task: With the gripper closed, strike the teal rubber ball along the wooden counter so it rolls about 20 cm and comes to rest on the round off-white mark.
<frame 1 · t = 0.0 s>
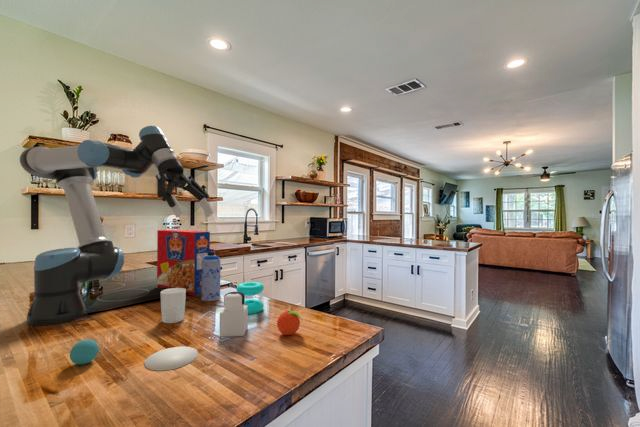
hand: (196, 214, 98), 36 cm above the counter, tool tilted 35°, fingers open, 13 cm apart
pasta box: (182, 289, 141), on the counter
white cup: (173, 320, 101), on the counter
donuts: (250, 311, 111), on the counter
ball: (84, 351, 71), on the counter
medicine bottle: (234, 332, 91), on the counter
clementine: (290, 335, 89), on the counter
aerosol can: (210, 298, 126), on the counter
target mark: (172, 358, 74), on the counter
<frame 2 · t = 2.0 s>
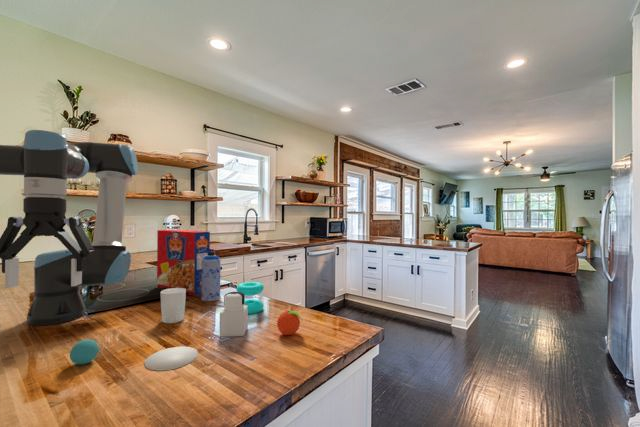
hand: (44, 286, 70), 19 cm above the counter, tool pointing down, fingers open, 13 cm apart
nothing on the counter moved.
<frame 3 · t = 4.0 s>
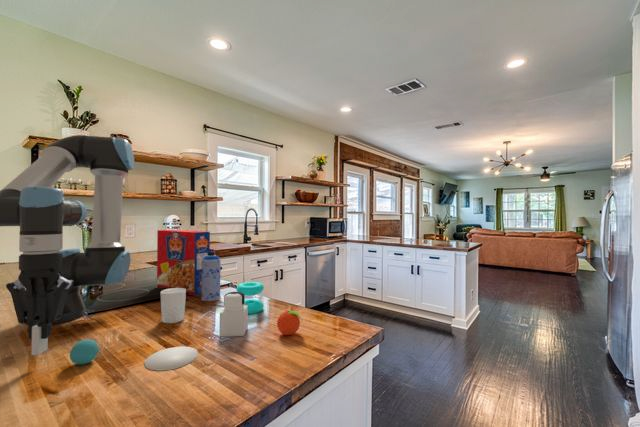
hand: (39, 352, 70), 3 cm above the counter, tool pointing down, fingers closed
nothing on the counter moved.
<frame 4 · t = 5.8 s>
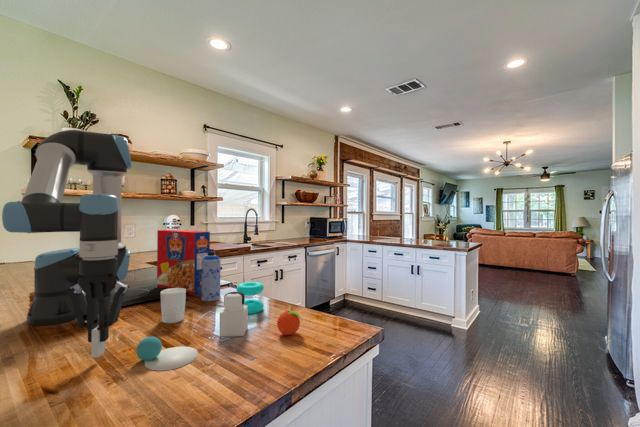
hand: (98, 354, 72), 2 cm above the counter, tool pointing down, fingers closed
ball: (149, 348, 73), on the counter
everything else where it was.
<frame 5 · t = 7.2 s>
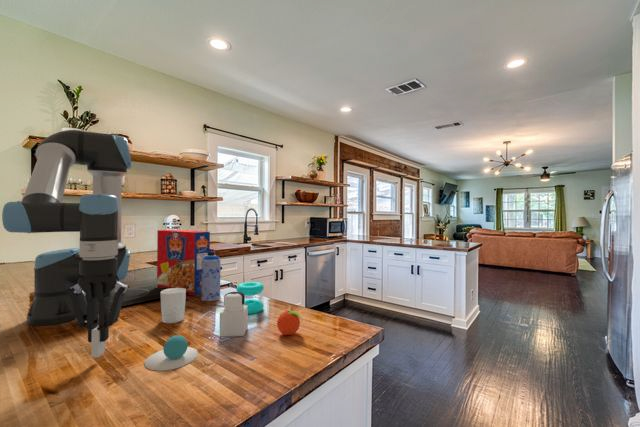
hand: (98, 354, 72), 2 cm above the counter, tool pointing down, fingers closed
ball: (175, 347, 74), on the counter
everything else where it was.
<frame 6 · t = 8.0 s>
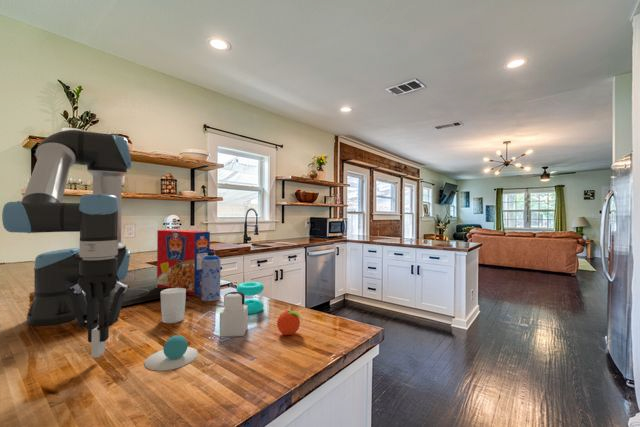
hand: (98, 354, 72), 2 cm above the counter, tool pointing down, fingers closed
nothing on the counter moved.
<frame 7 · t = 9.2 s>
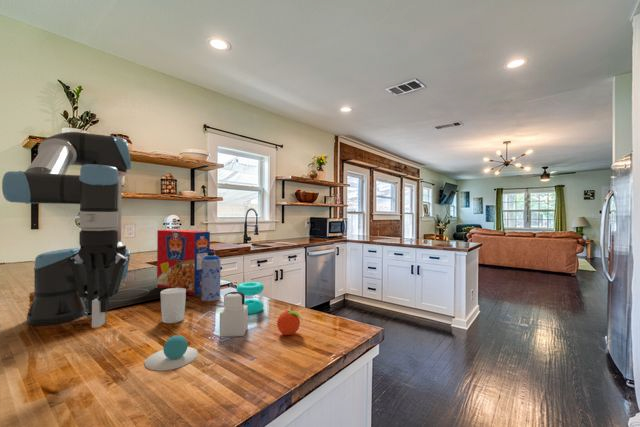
hand: (98, 325, 72), 9 cm above the counter, tool pointing down, fingers closed
nothing on the counter moved.
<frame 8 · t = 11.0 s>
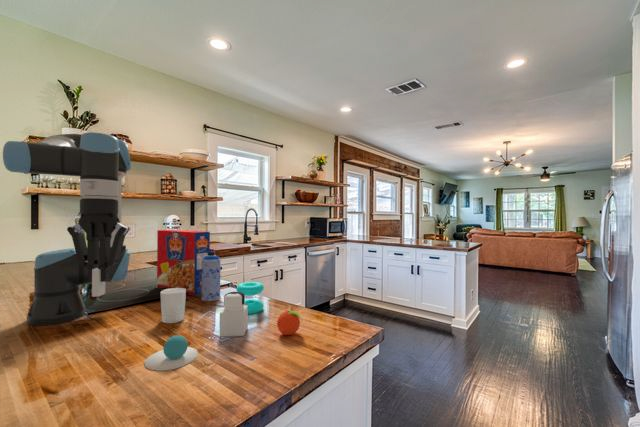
hand: (98, 294, 72), 16 cm above the counter, tool pointing down, fingers closed
nothing on the counter moved.
at the end: ball 0.8 cm from the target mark (horizontally); ball at rest at the end (0.0 cm/s); ball moved 20.8 cm from its start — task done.
